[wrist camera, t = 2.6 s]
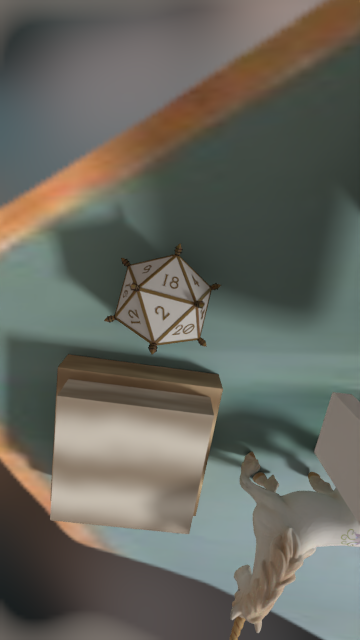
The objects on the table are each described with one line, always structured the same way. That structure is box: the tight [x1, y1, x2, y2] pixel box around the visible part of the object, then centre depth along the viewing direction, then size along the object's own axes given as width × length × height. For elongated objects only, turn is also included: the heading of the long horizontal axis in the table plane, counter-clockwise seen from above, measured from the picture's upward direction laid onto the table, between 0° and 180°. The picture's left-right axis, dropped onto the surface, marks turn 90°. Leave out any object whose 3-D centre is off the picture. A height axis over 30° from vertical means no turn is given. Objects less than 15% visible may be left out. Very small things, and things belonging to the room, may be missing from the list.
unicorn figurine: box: [230, 452, 360, 640], centre depth 30 cm, size 7×20×13 cm, turn 114°
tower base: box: [50, 354, 223, 534], centre depth 31 cm, size 15×15×6 cm
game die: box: [104, 244, 221, 354], centre depth 26 cm, size 9×8×10 cm
